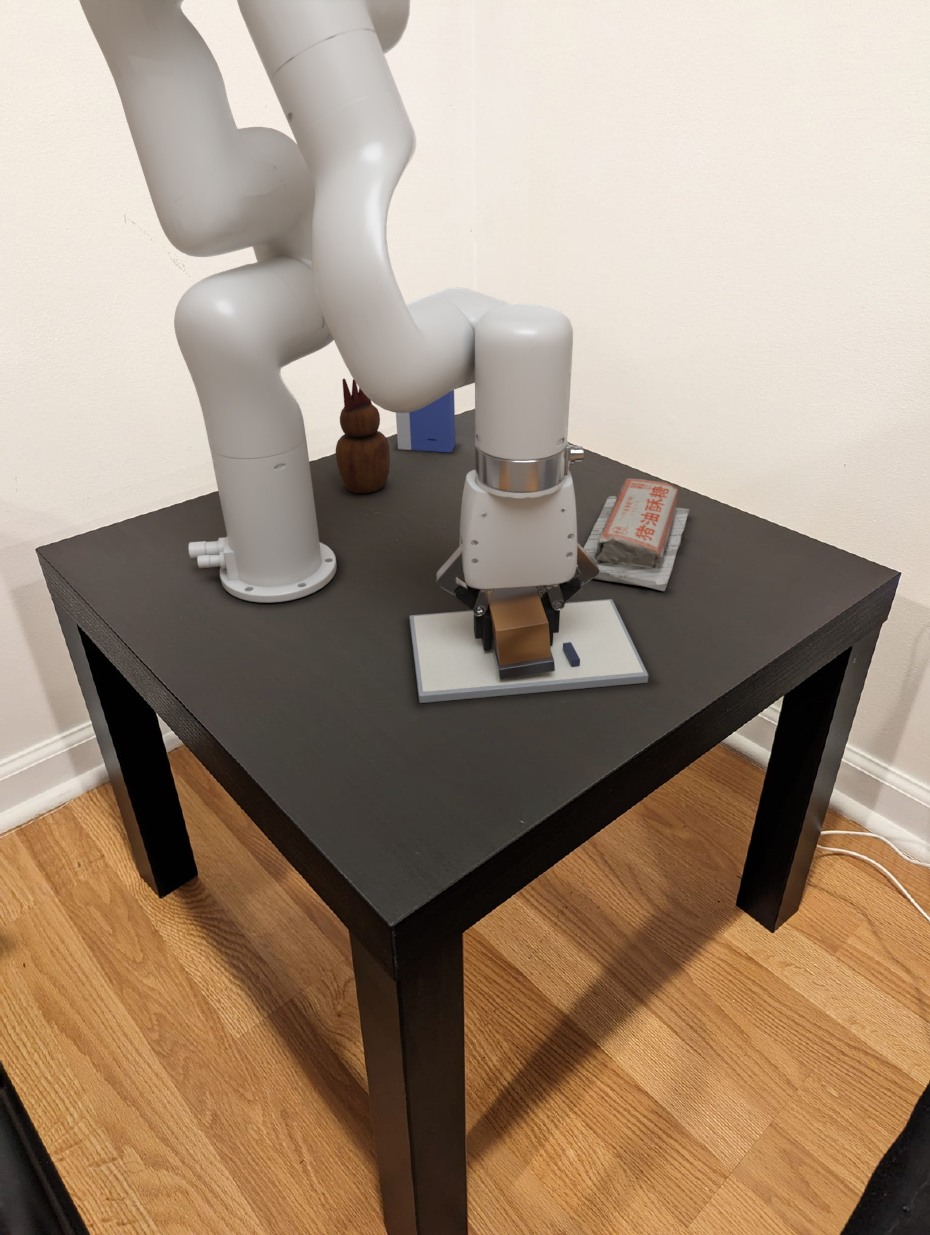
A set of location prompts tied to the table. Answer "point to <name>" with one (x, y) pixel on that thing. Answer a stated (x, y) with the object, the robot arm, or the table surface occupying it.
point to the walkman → (428, 426)
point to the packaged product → (638, 534)
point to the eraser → (520, 633)
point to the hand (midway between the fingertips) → (515, 638)
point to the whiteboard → (467, 671)
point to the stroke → (571, 654)
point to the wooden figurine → (361, 444)
